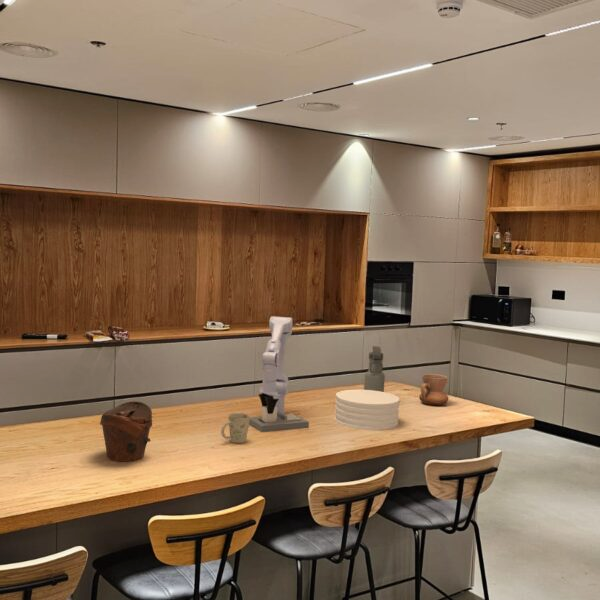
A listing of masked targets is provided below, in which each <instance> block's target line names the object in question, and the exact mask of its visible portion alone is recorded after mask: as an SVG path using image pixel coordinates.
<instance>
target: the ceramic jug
mask: <svg viewBox="0 0 600 600" xmlns="http://www.w3.org/2000/svg"><path fill="white" fill-rule="evenodd" d="M422 382H423V383H421V385H420V394H419V395H418V399H419V400H420V401H421V402H422V403H424V404H426V405H431V406H443V405H445V404H447V403H448V401H449V396H448V394H447V393H445V392H444V389H445V387H446V385H447V384H448V376H446V375H443V374H436V373H427V374H423V375H422Z"/></svg>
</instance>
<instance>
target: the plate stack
mask: <svg viewBox="0 0 600 600" xmlns="http://www.w3.org/2000/svg"><path fill="white" fill-rule="evenodd" d="M334 409H335V410H334V422H336V423H337V424H338V425H340V426H343V427H347V428H349V429H350V428H351V429H355V430H364V431H365V430H366V431H384V430H390V429H394V428H396V427H398V425H399V414H400V413H399V412H400V410H399V409H400V397H399V396H397V395H395V394H392V393H389V392H381V391H373V390H364V389H347V390H346V389H345V390H341V391H338V392H336V394H335V405H334Z"/></svg>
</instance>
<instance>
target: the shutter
mask: <svg viewBox="0 0 600 600" xmlns="http://www.w3.org/2000/svg"><path fill="white" fill-rule="evenodd" d="M284 414H285V413H284ZM284 414H282V413H280V412H277V418H279V419H281V420H282V421H284V422H286V421H297V420H301V418H302V417H301V418H299V417H300V416H299V417H297V416H298V415H297V416H295V415H296V414H295V415H293V414H294V413H287V414H288V415H284Z"/></svg>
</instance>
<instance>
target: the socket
mask: <svg viewBox="0 0 600 600" xmlns="http://www.w3.org/2000/svg"><path fill="white" fill-rule="evenodd" d="M288 414H289V413H284V415H288ZM292 414H293V415H295V416H297V417H299V418H301V420H297V421H286V422H284V421H282V420H281V419H279V418H277V419H276V422H264V421H262V420H261V419H262V415H261V416H250V421H249V425H250V426H251V427H253V428H254V429H256V430H257V431H259V432H260V433H265V432H266V433H267V432H277V431H288V430H297V429H304V428H305V429H306V428H308V429H309V427H310V426H309V425H310V421H308V420H306V419H304V418H303V417H300V416H298V415H297V414H294V413H292Z"/></svg>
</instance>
